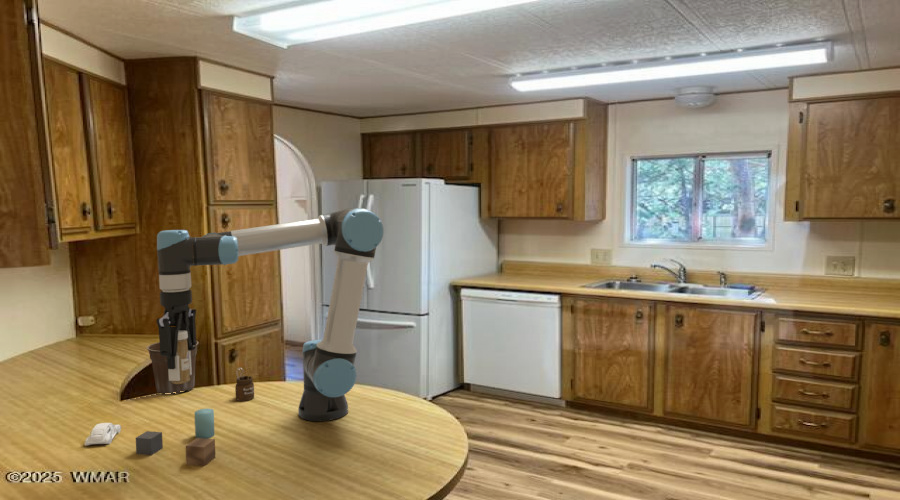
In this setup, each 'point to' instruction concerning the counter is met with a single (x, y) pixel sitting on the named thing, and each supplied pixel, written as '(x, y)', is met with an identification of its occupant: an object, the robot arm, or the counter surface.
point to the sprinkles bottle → (183, 357)
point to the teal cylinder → (204, 423)
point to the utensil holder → (245, 386)
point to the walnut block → (200, 452)
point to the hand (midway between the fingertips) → (180, 377)
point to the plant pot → (162, 371)
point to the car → (102, 434)
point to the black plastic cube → (149, 443)
